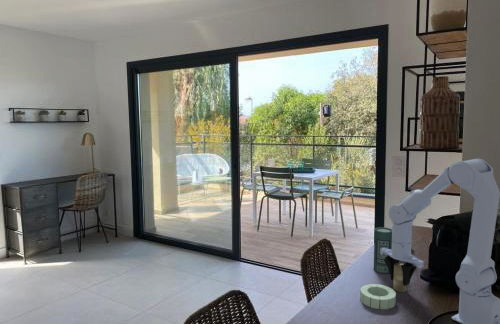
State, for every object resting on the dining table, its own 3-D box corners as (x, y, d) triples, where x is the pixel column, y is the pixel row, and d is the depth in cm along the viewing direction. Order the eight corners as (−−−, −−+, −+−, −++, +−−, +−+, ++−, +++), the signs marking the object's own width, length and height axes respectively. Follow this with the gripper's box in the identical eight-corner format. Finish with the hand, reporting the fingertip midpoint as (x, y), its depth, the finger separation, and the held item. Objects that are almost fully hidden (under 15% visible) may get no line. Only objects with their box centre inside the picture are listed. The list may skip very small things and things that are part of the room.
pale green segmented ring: (402, 302, 113) (402, 293, 113) (380, 312, 108) (380, 302, 107) (375, 290, 122) (375, 281, 121) (353, 298, 116) (353, 289, 116)
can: (391, 267, 139) (392, 228, 137) (391, 274, 133) (392, 233, 131) (374, 265, 141) (375, 226, 139) (373, 272, 135) (374, 231, 133)
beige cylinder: (409, 289, 121) (410, 266, 120) (401, 293, 119) (402, 269, 118) (398, 285, 125) (399, 262, 124) (390, 288, 123) (391, 264, 122)
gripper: (430, 245, 116) (428, 287, 118) (390, 233, 128) (389, 271, 130) (416, 250, 112) (414, 293, 114) (376, 237, 124) (375, 276, 126)
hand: (400, 282), depth 122 cm, fingers closed on beige cylinder, 4 cm apart
